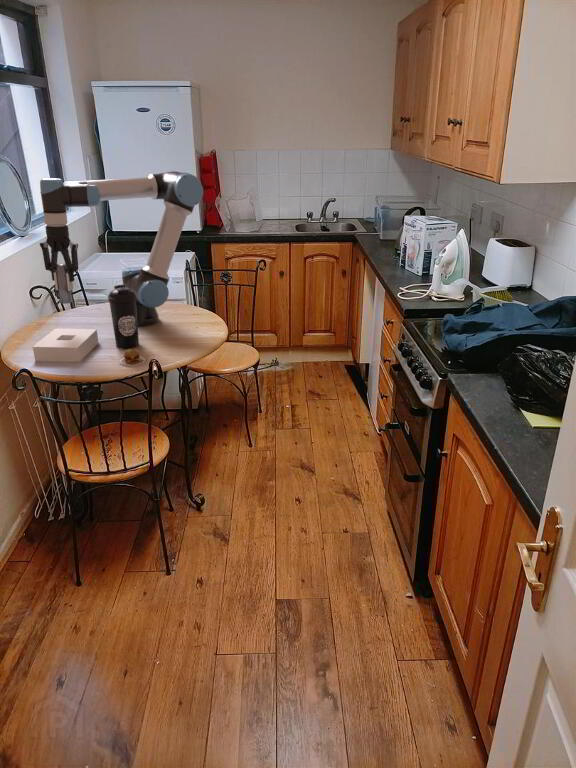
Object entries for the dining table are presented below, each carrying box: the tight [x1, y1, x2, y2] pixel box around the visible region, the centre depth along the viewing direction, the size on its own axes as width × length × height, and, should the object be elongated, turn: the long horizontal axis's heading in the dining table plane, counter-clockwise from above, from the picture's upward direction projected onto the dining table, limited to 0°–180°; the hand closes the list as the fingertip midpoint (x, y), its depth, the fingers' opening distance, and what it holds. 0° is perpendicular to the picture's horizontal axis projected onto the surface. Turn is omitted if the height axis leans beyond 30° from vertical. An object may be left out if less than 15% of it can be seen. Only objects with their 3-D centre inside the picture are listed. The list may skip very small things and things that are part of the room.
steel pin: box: [56, 263, 73, 305], centre depth 206 cm, size 4×4×14 cm
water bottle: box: [107, 284, 140, 350], centre depth 210 cm, size 10×10×23 cm
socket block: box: [32, 328, 99, 363], centre depth 207 cm, size 16×20×6 cm
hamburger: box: [119, 348, 146, 367], centre depth 199 cm, size 12×12×6 cm
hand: (64, 289), depth 207 cm, fingers closed on steel pin, 4 cm apart
